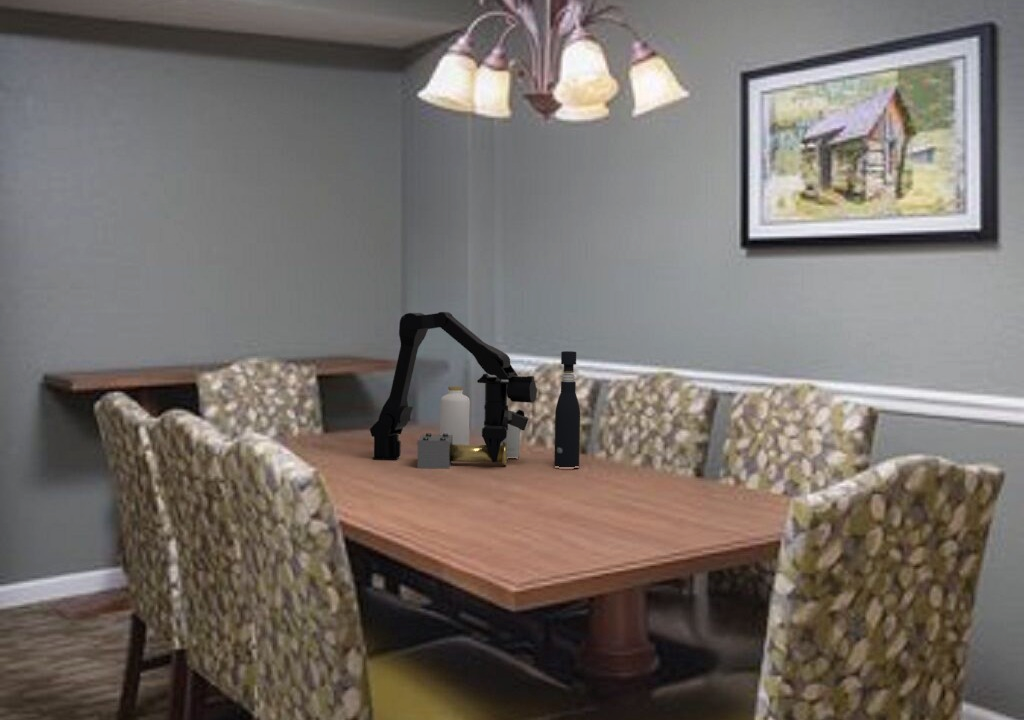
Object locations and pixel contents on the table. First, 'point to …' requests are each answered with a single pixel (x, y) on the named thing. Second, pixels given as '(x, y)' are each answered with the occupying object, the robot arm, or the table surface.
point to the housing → (434, 451)
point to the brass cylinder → (476, 453)
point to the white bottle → (455, 415)
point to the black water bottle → (567, 417)
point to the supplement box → (512, 441)
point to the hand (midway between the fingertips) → (494, 461)
